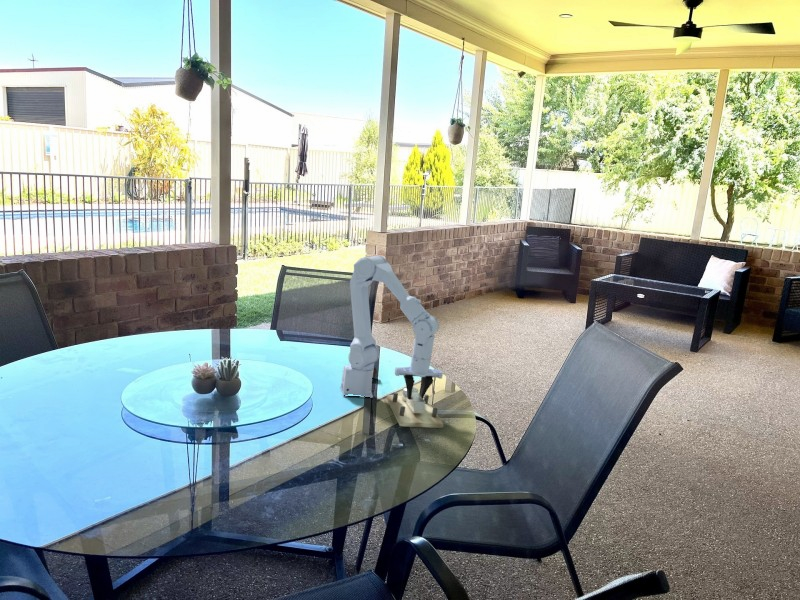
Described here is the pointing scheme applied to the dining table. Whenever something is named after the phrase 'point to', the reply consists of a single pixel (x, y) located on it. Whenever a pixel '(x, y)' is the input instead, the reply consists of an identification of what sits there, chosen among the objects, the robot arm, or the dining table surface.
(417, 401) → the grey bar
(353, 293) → the robot arm
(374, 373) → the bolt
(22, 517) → the dining table surface
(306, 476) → the dining table surface
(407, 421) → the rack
